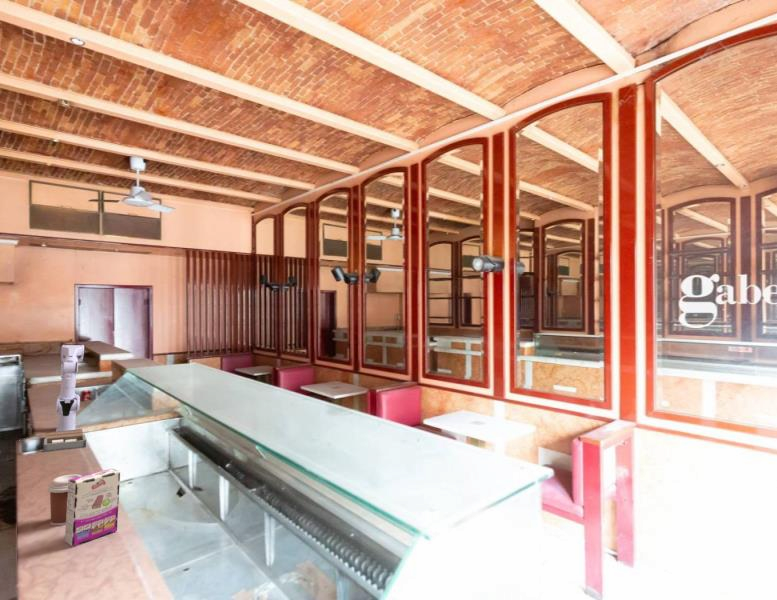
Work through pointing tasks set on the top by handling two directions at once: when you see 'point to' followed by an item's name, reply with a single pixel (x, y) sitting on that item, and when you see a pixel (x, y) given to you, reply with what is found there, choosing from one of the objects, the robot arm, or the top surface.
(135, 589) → the top surface
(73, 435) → the plate
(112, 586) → the top surface
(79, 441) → the tray
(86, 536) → the candy bar box
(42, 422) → the top surface
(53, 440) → the cream tile
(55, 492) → the coffee cup
